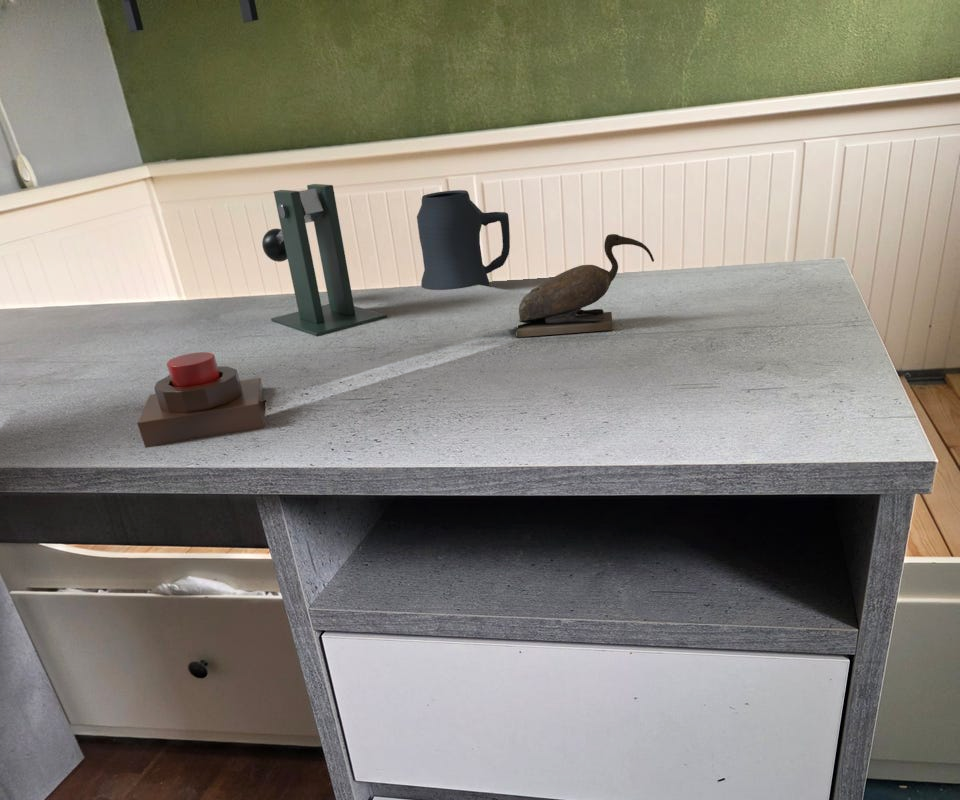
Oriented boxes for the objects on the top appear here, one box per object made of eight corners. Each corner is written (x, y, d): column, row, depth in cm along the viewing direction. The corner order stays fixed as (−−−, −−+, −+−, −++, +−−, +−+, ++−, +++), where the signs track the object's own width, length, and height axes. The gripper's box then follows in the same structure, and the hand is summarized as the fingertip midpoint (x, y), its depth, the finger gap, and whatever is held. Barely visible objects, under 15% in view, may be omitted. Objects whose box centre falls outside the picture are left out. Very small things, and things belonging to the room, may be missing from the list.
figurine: (652, 316, 92) (653, 226, 87) (654, 327, 88) (655, 234, 83) (519, 326, 94) (513, 239, 89) (516, 338, 90) (509, 247, 86)
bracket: (273, 331, 104) (242, 193, 96) (340, 314, 108) (315, 180, 100) (319, 347, 96) (288, 197, 87) (389, 328, 100) (366, 182, 91)
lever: (265, 268, 105) (254, 238, 105) (292, 262, 107) (281, 233, 106) (301, 221, 93) (289, 186, 92) (331, 215, 95) (319, 181, 94)
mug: (416, 302, 109) (402, 203, 103) (424, 286, 116) (412, 192, 110) (512, 294, 107) (504, 192, 101) (514, 278, 115) (507, 182, 109)
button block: (145, 448, 74) (129, 401, 71) (156, 418, 80) (143, 374, 78) (264, 428, 75) (252, 382, 72) (266, 400, 81) (255, 357, 79)
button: (171, 393, 74) (163, 369, 72) (176, 380, 77) (169, 356, 76) (219, 385, 74) (212, 361, 73) (222, 373, 77) (215, 349, 76)
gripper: (237, -216, 96) (281, 21, 107) (-3, -226, 85) (75, 38, 96) (265, -237, 90) (308, 14, 102) (13, -251, 79) (94, 32, 91)
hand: (195, 26), depth 99 cm, fingers open, 13 cm apart
